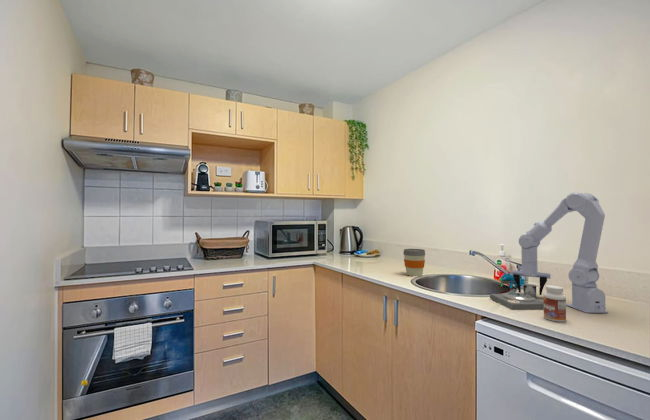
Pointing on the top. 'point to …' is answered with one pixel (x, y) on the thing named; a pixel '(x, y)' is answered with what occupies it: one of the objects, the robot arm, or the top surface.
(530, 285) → the steel spacer
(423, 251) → the reusable coffee cup
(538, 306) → the scale
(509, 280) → the teal lumpy piece
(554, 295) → the pill bottle
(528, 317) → the top surface
